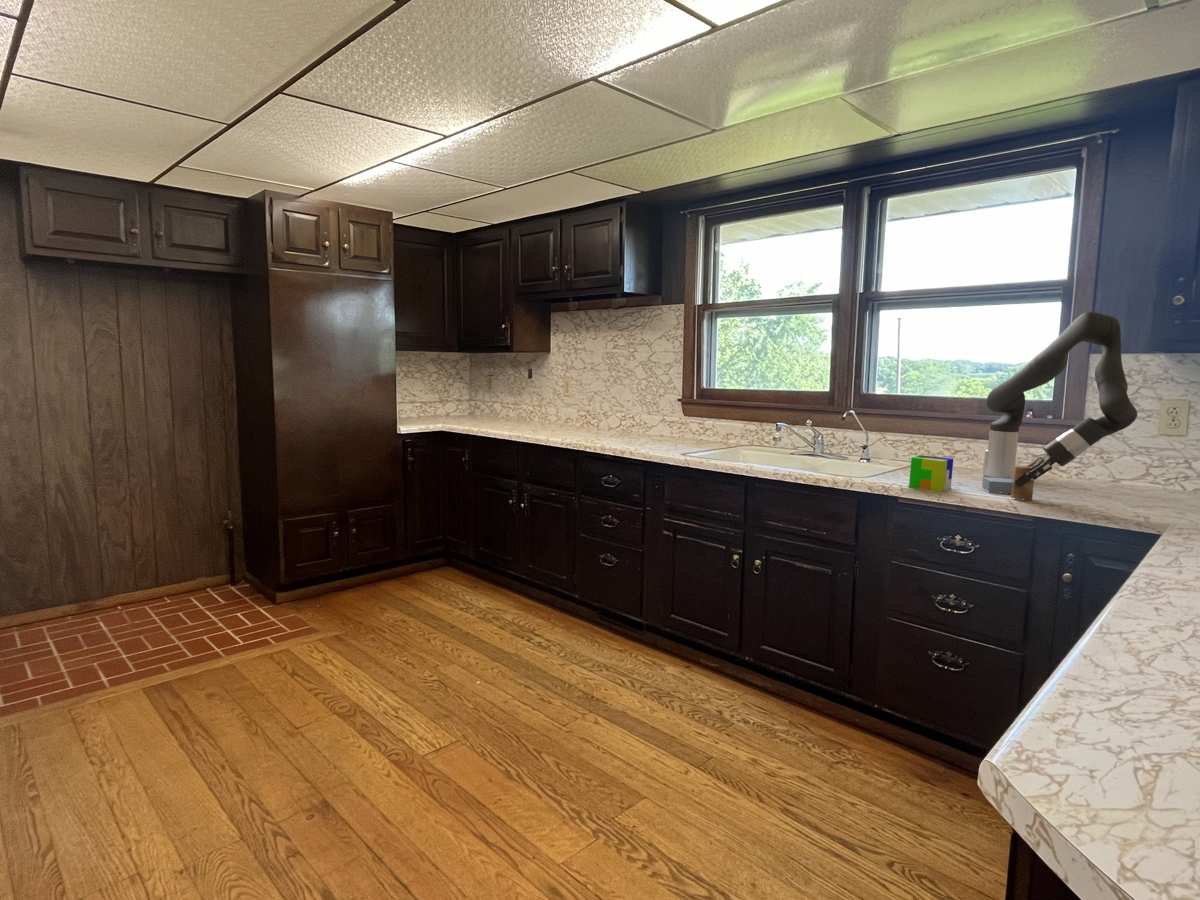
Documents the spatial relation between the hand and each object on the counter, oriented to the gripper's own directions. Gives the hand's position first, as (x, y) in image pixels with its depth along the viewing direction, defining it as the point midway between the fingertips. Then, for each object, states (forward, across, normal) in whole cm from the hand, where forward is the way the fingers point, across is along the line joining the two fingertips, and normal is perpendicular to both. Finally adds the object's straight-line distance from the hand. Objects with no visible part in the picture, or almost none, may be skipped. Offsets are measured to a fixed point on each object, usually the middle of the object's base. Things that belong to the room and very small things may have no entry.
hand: (1015, 483), depth 207 cm
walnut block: (+2, 0, +5) cm, 5 cm away
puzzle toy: (+20, -6, -13) cm, 25 cm away
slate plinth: (+5, -13, +2) cm, 14 cm away
